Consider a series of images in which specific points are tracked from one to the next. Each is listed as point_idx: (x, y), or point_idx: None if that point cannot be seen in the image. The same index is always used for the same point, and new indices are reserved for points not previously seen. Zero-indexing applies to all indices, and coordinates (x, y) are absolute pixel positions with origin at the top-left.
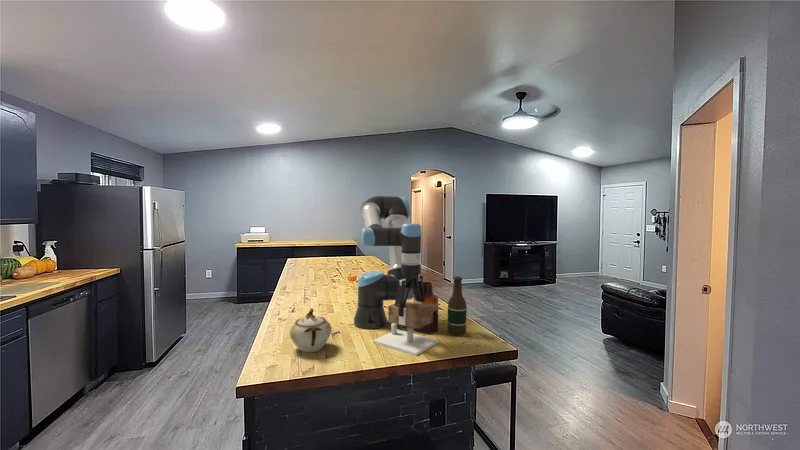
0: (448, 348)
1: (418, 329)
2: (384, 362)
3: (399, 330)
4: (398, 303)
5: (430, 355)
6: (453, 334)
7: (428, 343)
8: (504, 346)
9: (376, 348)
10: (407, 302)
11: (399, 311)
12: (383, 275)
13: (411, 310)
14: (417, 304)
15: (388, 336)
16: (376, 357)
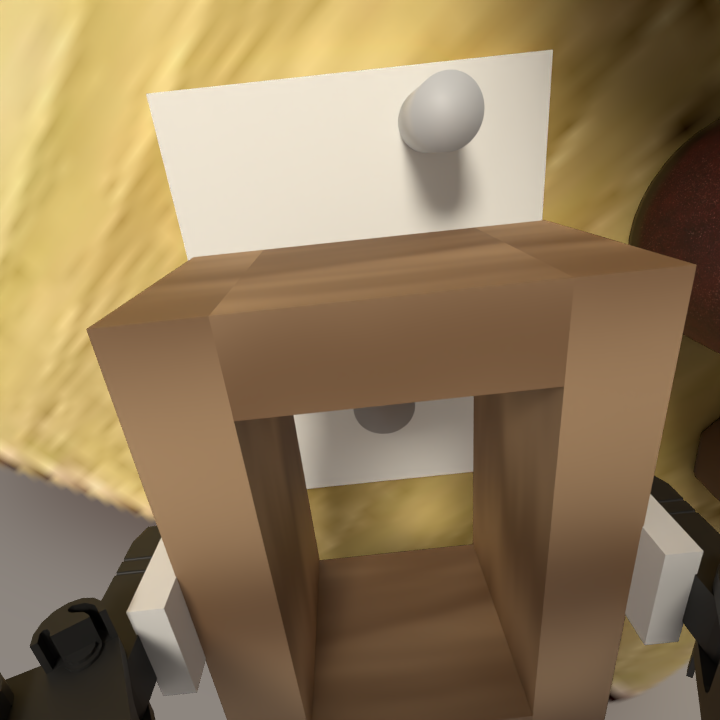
0: (472, 535)
1: (644, 239)
2: (31, 420)
3: (534, 96)
4: (50, 706)
5: (319, 526)
6: (700, 458)
7: (429, 459)
8: (660, 671)
9: (111, 218)
10: (614, 414)
11: (115, 597)
12: None
13: (238, 713)
14: (584, 596)
15: (329, 136)
16: (22, 337)
